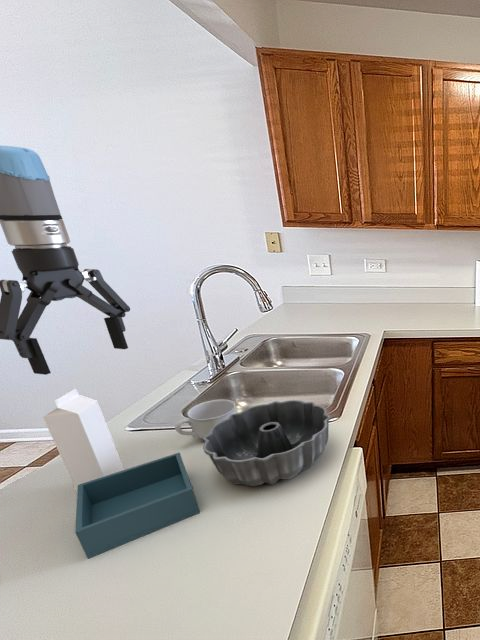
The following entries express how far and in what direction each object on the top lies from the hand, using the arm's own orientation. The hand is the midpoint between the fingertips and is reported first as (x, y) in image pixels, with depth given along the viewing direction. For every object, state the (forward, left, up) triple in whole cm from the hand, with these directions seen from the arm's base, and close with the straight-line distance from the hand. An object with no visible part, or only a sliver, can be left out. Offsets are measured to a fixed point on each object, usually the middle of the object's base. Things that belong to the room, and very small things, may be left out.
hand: (85, 359), depth 77 cm
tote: (+12, +1, -30) cm, 32 cm away
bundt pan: (+12, +26, -30) cm, 42 cm away
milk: (-5, -5, -30) cm, 31 cm away
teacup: (-11, +17, -30) cm, 36 cm away
